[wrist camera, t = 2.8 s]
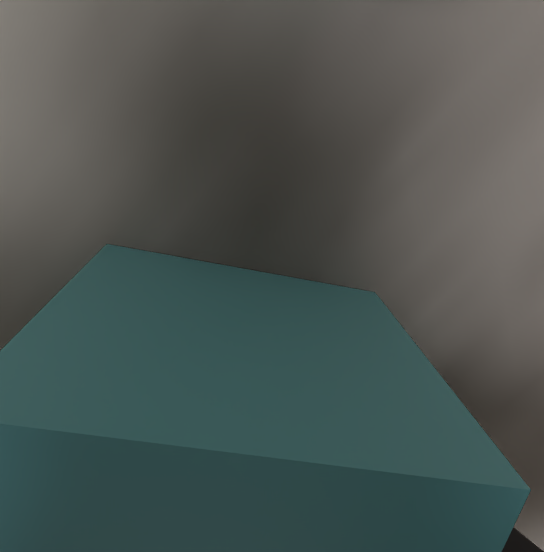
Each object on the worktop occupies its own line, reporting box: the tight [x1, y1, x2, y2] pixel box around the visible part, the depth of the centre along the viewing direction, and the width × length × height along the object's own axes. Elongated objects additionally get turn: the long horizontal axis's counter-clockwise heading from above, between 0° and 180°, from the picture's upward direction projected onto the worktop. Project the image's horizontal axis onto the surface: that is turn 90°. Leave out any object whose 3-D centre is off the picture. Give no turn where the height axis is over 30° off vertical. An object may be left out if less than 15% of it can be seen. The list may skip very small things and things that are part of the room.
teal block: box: [0, 244, 531, 552], centre depth 7 cm, size 5×5×5 cm
